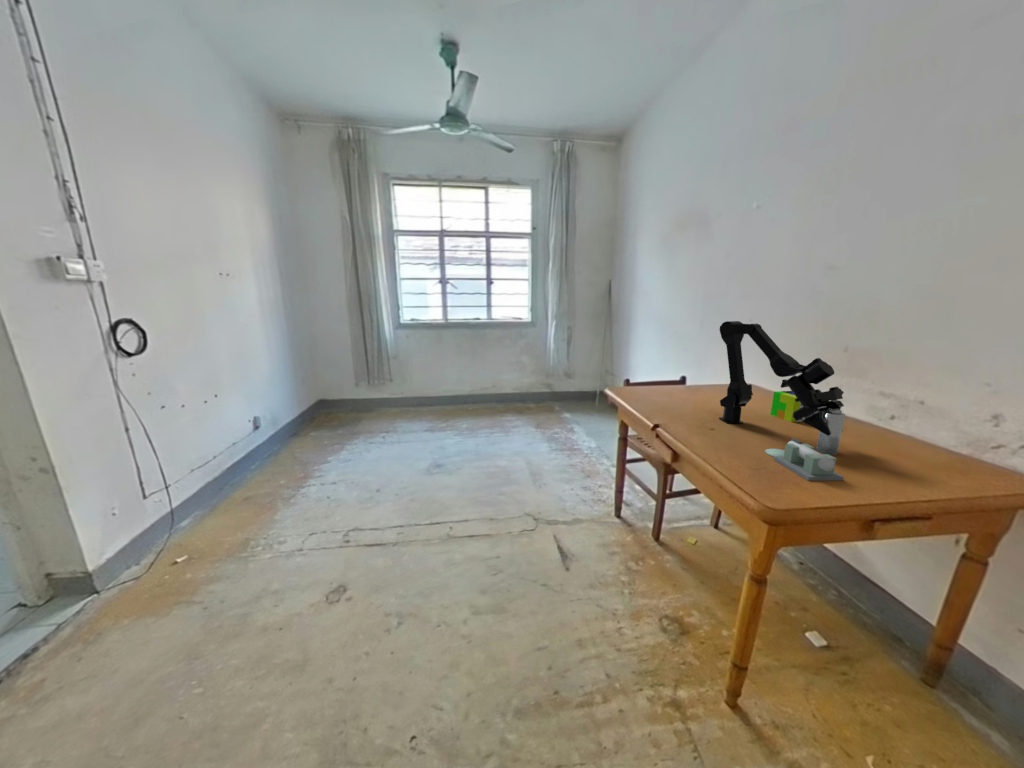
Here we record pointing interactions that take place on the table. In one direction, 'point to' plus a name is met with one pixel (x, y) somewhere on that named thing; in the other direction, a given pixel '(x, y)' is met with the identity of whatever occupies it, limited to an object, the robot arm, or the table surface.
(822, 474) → the shaft stand
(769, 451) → the pale green disc
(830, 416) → the canister
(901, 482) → the table surface
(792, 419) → the puzzle toy
